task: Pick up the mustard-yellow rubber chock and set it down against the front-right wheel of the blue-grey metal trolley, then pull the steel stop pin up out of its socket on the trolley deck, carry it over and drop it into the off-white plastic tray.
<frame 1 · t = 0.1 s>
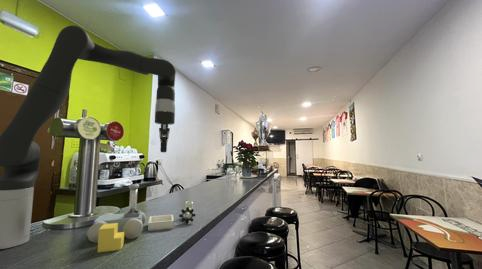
hand: (163, 152, 85), 29 cm above the bar counter, fingers open, 8 cm apart
chock: (111, 247, 66), on the bar counter
trolley: (119, 233, 77), on the bar counter
tray: (161, 226, 85), on the bar counter
stop pin: (132, 215, 79), point 6 cm above the bar counter, touching trolley
valve: (188, 220, 95), on the bar counter
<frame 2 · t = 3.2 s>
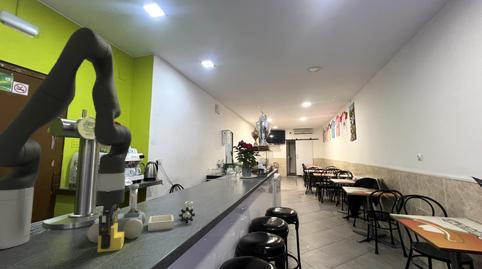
hand: (107, 244, 65), 1 cm above the bar counter, fingers closed on chock, 5 cm apart
chock: (111, 247, 66), on the bar counter, touching gripper
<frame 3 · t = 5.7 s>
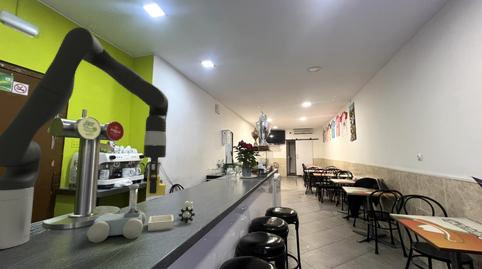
hand: (153, 191, 77), 15 cm above the bar counter, fingers closed on chock, 5 cm apart
chock: (156, 194, 77), point 14 cm above the bar counter, touching gripper
when the fingers open (2 cm above the bar counter, at t = 8.4 s): chock drops 1 cm, on the bar counter.
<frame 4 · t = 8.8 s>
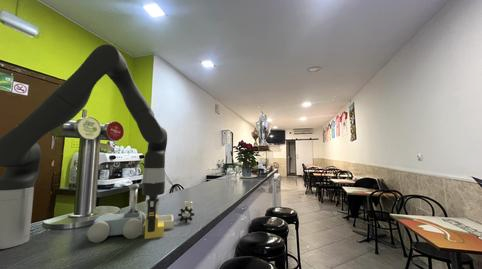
hand: (151, 227, 76), 3 cm above the bar counter, fingers open, 8 cm apart
chock: (154, 235, 76), on the bar counter
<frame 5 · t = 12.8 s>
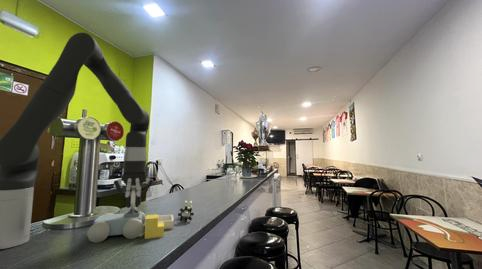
hand: (132, 206, 79), 9 cm above the bar counter, fingers closed on stop pin, 2 cm apart
stop pin: (132, 215, 79), point 6 cm above the bar counter, touching gripper, trolley
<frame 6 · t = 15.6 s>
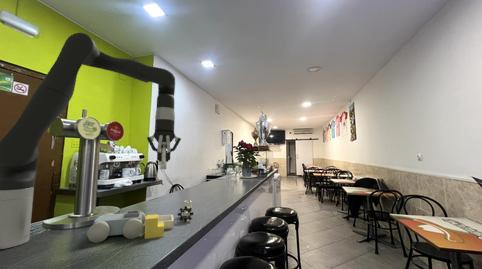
hand: (163, 161, 88), 25 cm above the bar counter, fingers closed on stop pin, 2 cm apart
stop pin: (163, 169, 87), point 22 cm above the bar counter, touching gripper
when the fingers open (6 cm above the bar counter, at t = 18.7 s): stop pin drops 2 cm, resting on tray.
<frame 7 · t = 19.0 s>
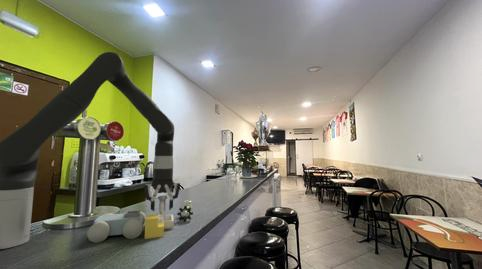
hand: (161, 209, 86), 6 cm above the bar counter, fingers open, 5 cm apart
stop pin: (161, 224, 85), point 1 cm above the bar counter, touching tray
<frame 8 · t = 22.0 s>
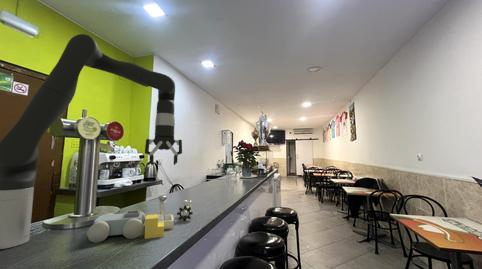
hand: (163, 164, 88), 24 cm above the bar counter, fingers open, 8 cm apart
at the end: chock 0.4 cm from the target spot on the bar counter beside the trolley, on the bar counter; stop pin inside the target area on the tray (0.1 cm from its centre), point 0.6 cm above the tray's base; the gripper is holding nothing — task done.
